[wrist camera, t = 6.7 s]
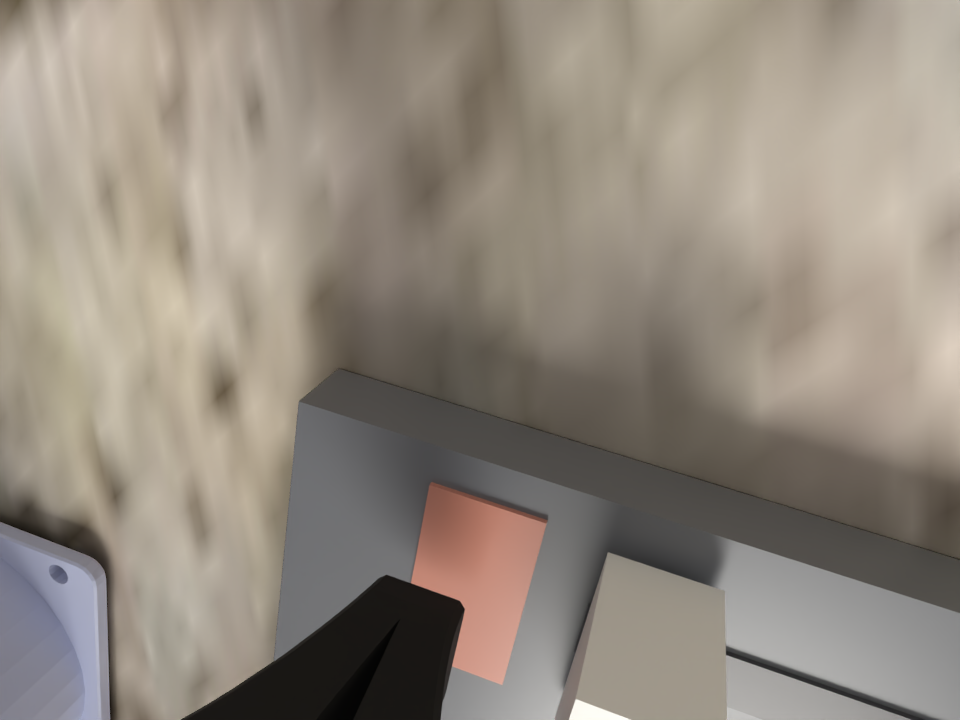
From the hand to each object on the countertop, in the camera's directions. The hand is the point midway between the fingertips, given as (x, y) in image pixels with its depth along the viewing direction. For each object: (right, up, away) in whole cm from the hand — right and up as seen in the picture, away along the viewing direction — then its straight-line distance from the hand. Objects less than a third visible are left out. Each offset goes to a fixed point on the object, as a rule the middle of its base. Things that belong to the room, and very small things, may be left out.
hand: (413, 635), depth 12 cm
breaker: (+4, -1, 0) cm, 4 cm away
